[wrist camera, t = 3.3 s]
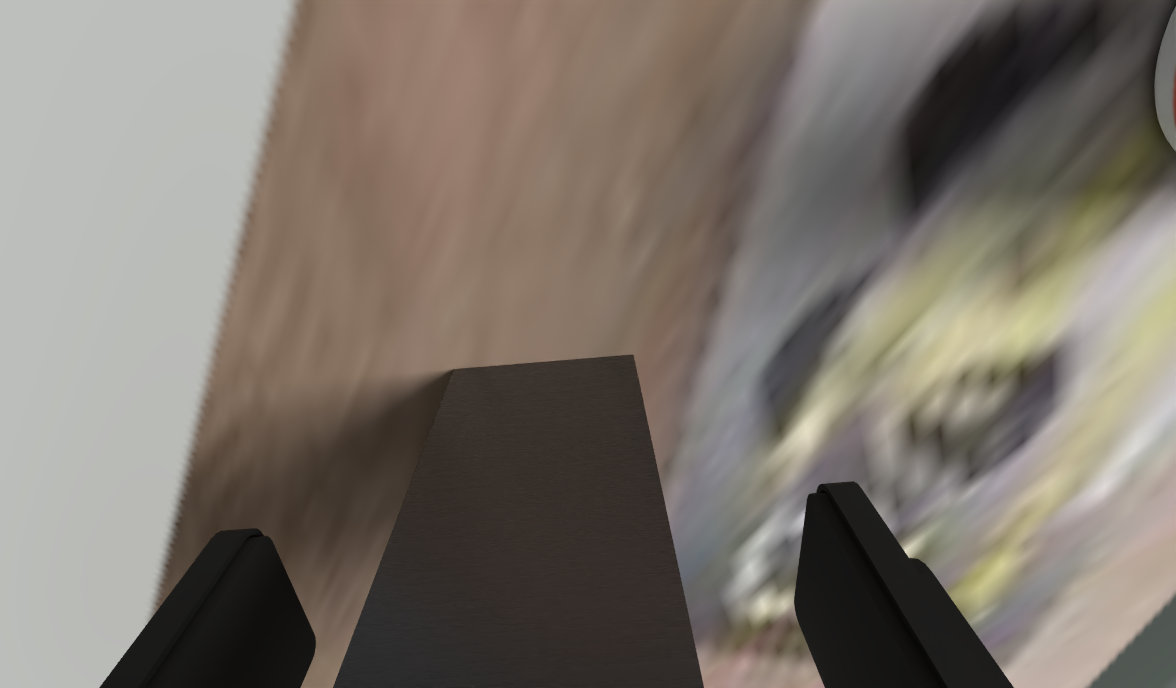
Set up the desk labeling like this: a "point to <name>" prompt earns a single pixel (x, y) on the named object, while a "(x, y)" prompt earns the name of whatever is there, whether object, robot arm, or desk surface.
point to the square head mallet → (530, 544)
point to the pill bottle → (1167, 82)
